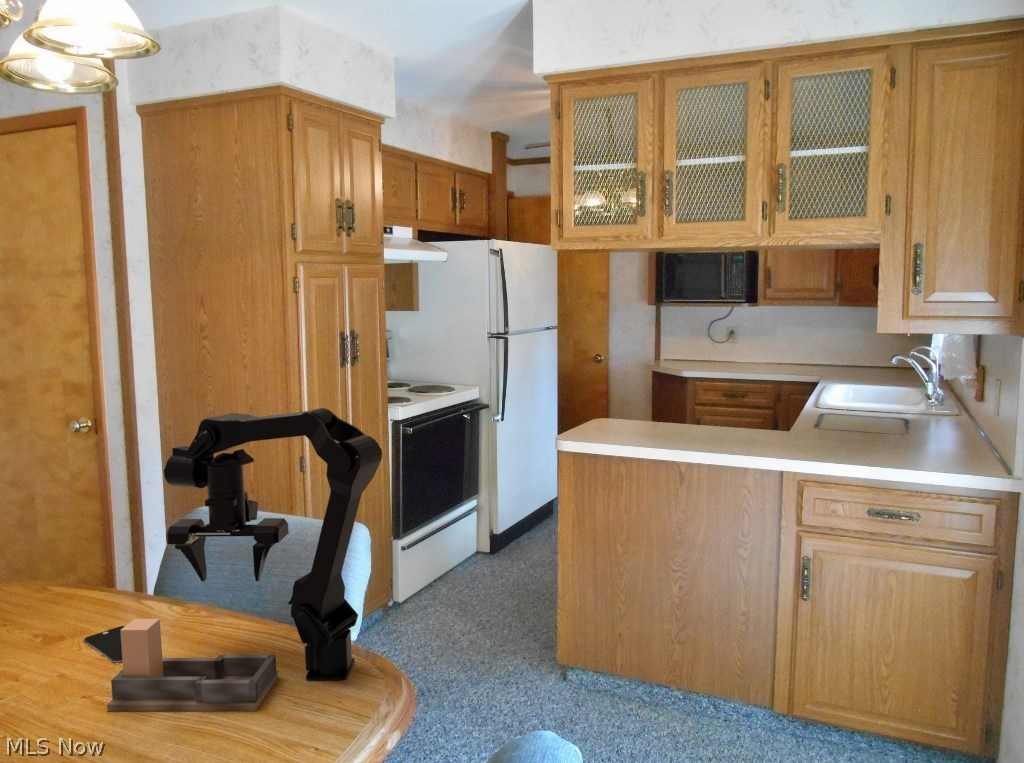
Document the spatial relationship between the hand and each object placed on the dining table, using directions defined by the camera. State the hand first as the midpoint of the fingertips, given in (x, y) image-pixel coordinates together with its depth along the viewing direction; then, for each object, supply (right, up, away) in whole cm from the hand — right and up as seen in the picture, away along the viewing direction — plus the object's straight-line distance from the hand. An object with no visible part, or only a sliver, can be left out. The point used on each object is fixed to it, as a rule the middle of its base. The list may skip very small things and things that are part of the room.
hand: (231, 580), depth 128 cm
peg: (-9, -13, -12) cm, 20 cm away
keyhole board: (-1, -14, -12) cm, 18 cm away
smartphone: (-22, -13, +6) cm, 26 cm away
